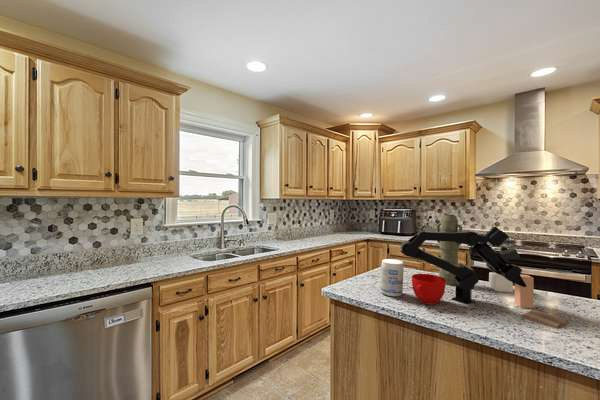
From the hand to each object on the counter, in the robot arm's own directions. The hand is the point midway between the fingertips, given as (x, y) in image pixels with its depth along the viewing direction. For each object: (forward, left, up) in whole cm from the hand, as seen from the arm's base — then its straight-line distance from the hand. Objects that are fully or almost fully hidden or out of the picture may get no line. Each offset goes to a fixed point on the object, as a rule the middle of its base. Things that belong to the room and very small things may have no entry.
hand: (519, 283), depth 113 cm
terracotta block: (+1, -1, -9) cm, 9 cm away
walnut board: (-8, -11, -9) cm, 16 cm away
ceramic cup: (-31, +20, -9) cm, 38 cm away
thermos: (+3, +32, -9) cm, 33 cm away
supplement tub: (-35, +35, -9) cm, 50 cm away
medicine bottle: (+15, +14, -9) cm, 23 cm away
